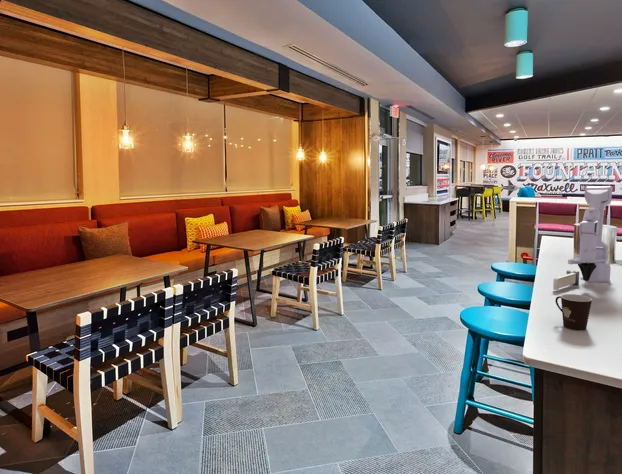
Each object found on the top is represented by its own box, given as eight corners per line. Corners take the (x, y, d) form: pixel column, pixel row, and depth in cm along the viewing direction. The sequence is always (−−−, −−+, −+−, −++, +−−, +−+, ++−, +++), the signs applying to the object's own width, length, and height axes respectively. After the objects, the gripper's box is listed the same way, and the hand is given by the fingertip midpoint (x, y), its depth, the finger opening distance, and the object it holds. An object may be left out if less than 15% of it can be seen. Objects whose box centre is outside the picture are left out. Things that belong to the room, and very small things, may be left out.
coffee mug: (595, 332, 132) (597, 301, 130) (565, 331, 134) (566, 301, 132) (579, 320, 143) (581, 292, 142) (552, 319, 145) (553, 291, 143)
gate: (571, 283, 188) (572, 272, 188) (575, 284, 187) (576, 273, 186) (553, 289, 180) (553, 278, 179) (557, 290, 178) (557, 278, 178)
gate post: (564, 280, 196) (565, 268, 195) (570, 280, 196) (570, 268, 195) (574, 285, 188) (574, 272, 187) (579, 285, 187) (580, 272, 187)
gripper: (574, 251, 173) (573, 282, 175) (611, 250, 172) (609, 282, 174) (566, 248, 180) (564, 278, 182) (601, 247, 179) (599, 278, 181)
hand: (586, 280), depth 178 cm, fingers closed
